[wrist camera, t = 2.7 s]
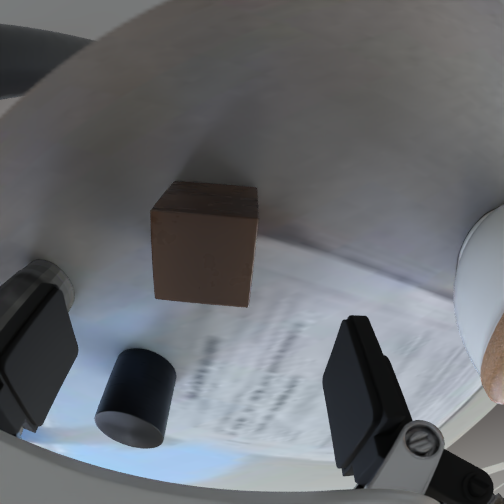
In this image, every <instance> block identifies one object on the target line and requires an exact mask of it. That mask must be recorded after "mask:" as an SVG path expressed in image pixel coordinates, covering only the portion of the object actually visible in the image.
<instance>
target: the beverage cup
mask: <svg viewBox="0 0 504 504" xmlns="http://www.w3.org/2000/svg"><path fill="white" fill-rule="evenodd" d="M43 282H45V283H51V284H56V285H58V287H59V289H60V290H62V292H63V295H64V299H65V303H66V307H67V310H68V312H69V310H70V308H71V307H72V305H73V302H74V290H73V286H72V284H71V282H70V280H69V279H68V277H67V276H66V275H65V273H64V272H63V271H62V270H61V269H60V268H58V267H57V266H56V265H54V264H53V263H51V262H48V261H46V260H36V261H33V262H31V263H30V264H29V265H28V266H26V267H25V268H24V269H22V270H20V271H18V272H17V273H16V274H15V275H13V276H12V277H11V278H10V279H9V280H7V281H6V282H5V283H4V284H3V285H1V286H0V331H1V330H2V329H3V327H4V326H5V325H6V324H7V322H8V321H9V320H10V319H11V318H12V316H13V315H14V314H15V313H16V311H17V310H18V309H19V308H20V307H21V306H22V304H23V303H24V302H25V301H26V300H27V299H28V297H29V296H30V295H31V294H32V293H33V292H34V291H35V289H36V288H37V287H38V286H39V285H40V284H41V283H43ZM22 431H23V427H21V429H20V434H22Z"/></svg>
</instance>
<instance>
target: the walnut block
mask: <svg viewBox="0 0 504 504" xmlns="http://www.w3.org/2000/svg"><path fill="white" fill-rule="evenodd" d="M150 217H151V245H152V264H153V279H154V293H155V299H162V300H171V301H180V302H190V303H200V304H211V305H222V306H234V307H246V308H247V307H249V302H250V293H251V284H252V276H253V267H254V259H255V250H256V241H257V232H258V224H259V212H258V195H257V188H256V187H246V186H234V185H222V184H209V183H194V182H178V181H174V182H173V183H172V184H171V185H170V187H169V188H168V189H167V190H166V191H165V193H164V194H163V195H162V196H161V198H160V199H159V200H158V201H157V203H156V204H155V205H154V207H153V208H152V209H151V211H150Z"/></svg>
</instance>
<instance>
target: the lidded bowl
mask: <svg viewBox="0 0 504 504" xmlns="http://www.w3.org/2000/svg"><path fill="white" fill-rule="evenodd" d="M454 311H455V318H456V324H457V327H458V330H459V333H460V336H461V339H462V342H463V345H464V347H465V349H466V352H467V354H468V356H469V358H470V360H471V362H472V364H473V365H474V367H475V369H476V371H477V372H478V374H479V376H480V377H481V382H482V385H483V387H484V389H485V391H486V393H487V395H488V396H489V398H490V399H491V400H492V401H494V402H495V403H498V404H504V204H503V205H502V206H500V207H498V208H497V209H495V210H492V211H491V212H489V213H487V214H486V215H485V216H483V217H482V218H481V219H480V220H479V221H478V222H477V223H476V224H475V225H474V227H473V228H472V229H471V231H470V232H469V234H468V235H467V237H466V239H465V241H464V243H463V245H462V248H461V251H460V254H459V258H458V265H457V272H456V276H455V283H454Z"/></svg>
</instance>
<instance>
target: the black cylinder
mask: <svg viewBox="0 0 504 504" xmlns="http://www.w3.org/2000/svg"><path fill="white" fill-rule="evenodd" d="M175 381H176V372H175V370H174V368H173V366H172V365H171V364H170V363H169V362H168V361H167V360H166V359H165V358H163V357H162V356H160V355H158V354H156V353H154V352H151V351H148V350H144V349H129V350H126V351H124V352H122V353H121V354H120V355H119V356H118V358H117V360H116V363H115V365H114V368H113V370H112V373H111V375H110V378H109V380H108V383H107V385H106V388H105V390H104V393H103V396H102V398H101V401H100V404H99V406H98V409H97V412H96V415H95V418H94V419H95V423H96V425H97V427H98V428H99V429H100V430H101V431H102V432H103V433H104V434H105V435H107V436H108V437H110V438H111V439H113V440H115V441H117V442H120V443H122V444H125V445H128V446H132V447H136V448H154V447H157V446H159V445H161V444H162V443H163V440H164V435H165V430H166V425H167V420H168V415H169V410H170V405H171V400H172V395H173V391H174V386H175Z"/></svg>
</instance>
